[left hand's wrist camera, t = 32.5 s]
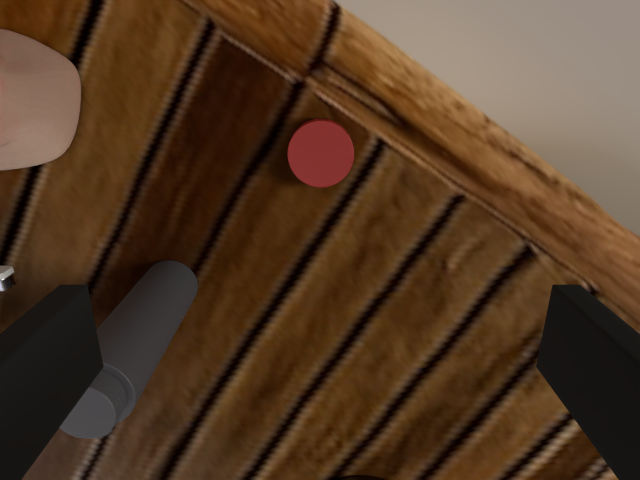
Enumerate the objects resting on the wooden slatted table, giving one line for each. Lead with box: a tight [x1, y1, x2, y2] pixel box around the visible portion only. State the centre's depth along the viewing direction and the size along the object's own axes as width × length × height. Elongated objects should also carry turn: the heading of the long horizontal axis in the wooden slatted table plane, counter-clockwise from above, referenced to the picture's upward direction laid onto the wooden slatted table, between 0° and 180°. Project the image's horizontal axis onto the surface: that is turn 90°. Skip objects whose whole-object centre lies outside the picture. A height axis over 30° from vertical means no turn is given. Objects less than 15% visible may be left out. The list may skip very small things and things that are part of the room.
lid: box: [287, 118, 354, 187], centre depth 39 cm, size 6×6×2 cm
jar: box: [59, 260, 198, 439], centre depth 36 cm, size 5×5×18 cm
